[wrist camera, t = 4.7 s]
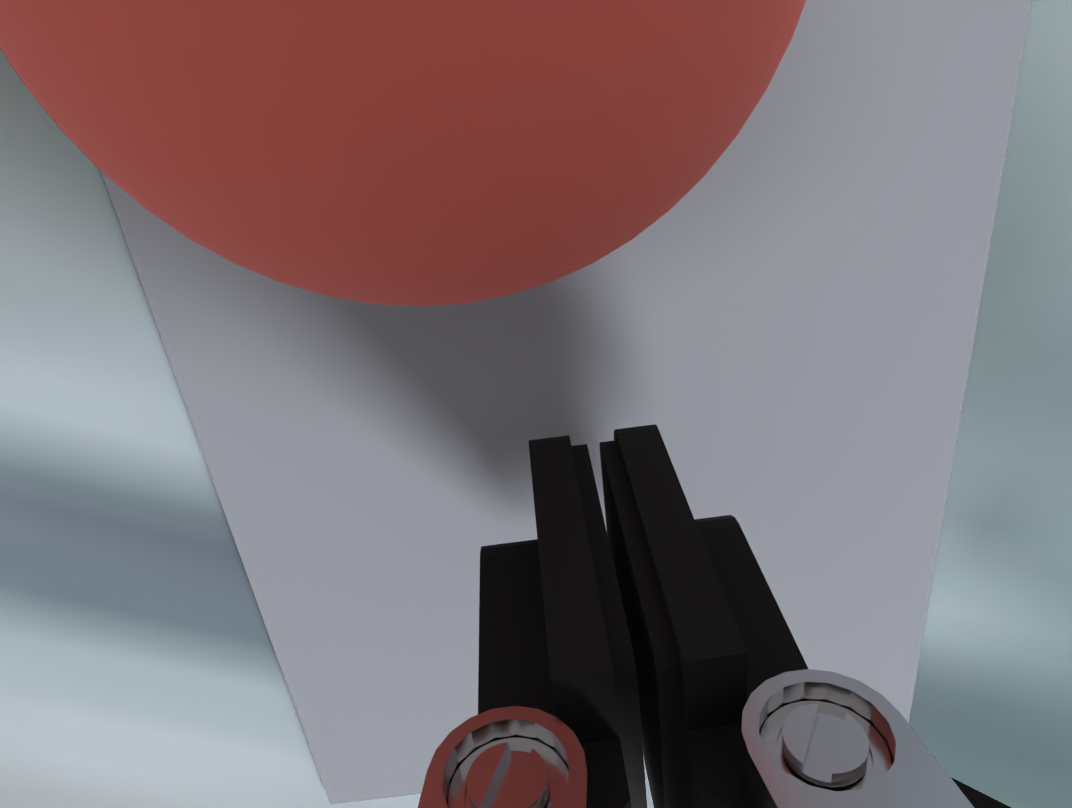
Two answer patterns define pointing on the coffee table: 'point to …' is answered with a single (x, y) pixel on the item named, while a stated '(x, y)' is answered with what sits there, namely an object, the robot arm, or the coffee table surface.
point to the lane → (624, 387)
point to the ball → (402, 126)
